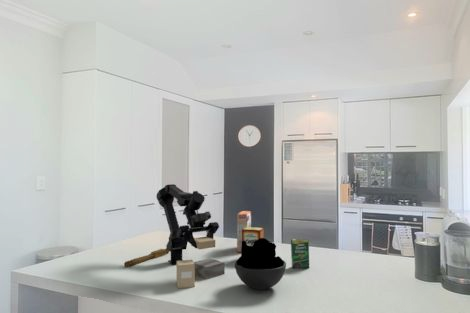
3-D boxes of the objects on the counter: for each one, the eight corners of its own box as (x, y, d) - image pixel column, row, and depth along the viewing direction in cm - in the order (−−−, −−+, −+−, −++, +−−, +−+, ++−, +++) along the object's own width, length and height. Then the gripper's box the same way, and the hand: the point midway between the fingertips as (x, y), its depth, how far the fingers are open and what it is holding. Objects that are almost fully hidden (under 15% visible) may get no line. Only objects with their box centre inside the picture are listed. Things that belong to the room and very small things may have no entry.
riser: (192, 273, 156) (192, 262, 156) (210, 268, 162) (210, 258, 163) (206, 279, 148) (206, 267, 148) (224, 273, 155) (224, 262, 155)
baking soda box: (242, 260, 176) (241, 228, 176) (246, 257, 182) (246, 226, 183) (260, 262, 173) (260, 229, 173) (263, 259, 179) (263, 227, 179)
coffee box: (292, 268, 163) (292, 240, 163) (290, 266, 166) (290, 238, 166) (309, 268, 163) (309, 239, 163) (308, 266, 166) (307, 238, 166)
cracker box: (247, 253, 191) (247, 214, 191) (236, 252, 192) (236, 213, 192) (251, 246, 205) (251, 210, 205) (241, 246, 206) (241, 210, 206)
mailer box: (176, 283, 144) (176, 260, 144) (192, 281, 145) (192, 259, 146) (178, 288, 137) (178, 265, 138) (194, 286, 139) (194, 264, 139)
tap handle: (123, 261, 167) (166, 247, 193) (123, 267, 167) (166, 252, 193) (128, 261, 165) (170, 248, 191) (128, 268, 165) (170, 253, 191)
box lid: (191, 245, 152) (191, 238, 152) (206, 243, 156) (206, 236, 156) (199, 249, 145) (199, 242, 146) (215, 247, 150) (215, 239, 150)
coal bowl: (288, 281, 145) (287, 235, 146) (283, 300, 126) (283, 247, 126) (240, 278, 150) (240, 233, 150) (229, 295, 130) (229, 244, 131)
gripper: (179, 207, 149) (191, 238, 140) (217, 204, 159) (230, 233, 150) (171, 222, 155) (182, 253, 146) (208, 218, 166) (220, 247, 157)
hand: (204, 246), depth 150 cm, fingers closed on box lid, 8 cm apart
